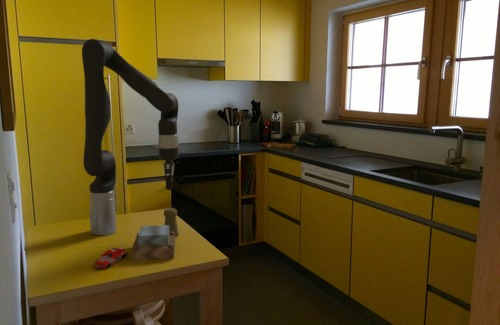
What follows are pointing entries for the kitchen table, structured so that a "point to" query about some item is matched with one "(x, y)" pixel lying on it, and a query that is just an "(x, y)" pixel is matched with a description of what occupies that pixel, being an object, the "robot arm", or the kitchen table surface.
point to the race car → (110, 258)
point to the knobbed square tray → (154, 243)
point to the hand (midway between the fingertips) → (169, 187)
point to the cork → (171, 220)
